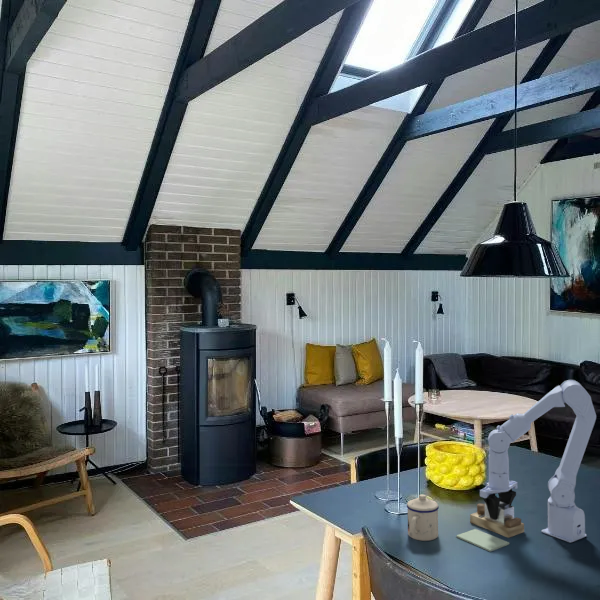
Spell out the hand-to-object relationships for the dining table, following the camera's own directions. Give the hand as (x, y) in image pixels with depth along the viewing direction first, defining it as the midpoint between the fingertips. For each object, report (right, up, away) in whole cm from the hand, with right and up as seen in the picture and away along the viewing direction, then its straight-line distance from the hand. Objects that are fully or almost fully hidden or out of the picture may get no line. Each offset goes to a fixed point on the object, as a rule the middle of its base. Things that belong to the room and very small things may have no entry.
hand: (499, 516), depth 184 cm
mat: (-7, -4, -8) cm, 12 cm away
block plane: (-1, -3, +1) cm, 4 cm away
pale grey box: (0, -1, 0) cm, 1 cm away
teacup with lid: (-24, -4, -5) cm, 25 cm away
